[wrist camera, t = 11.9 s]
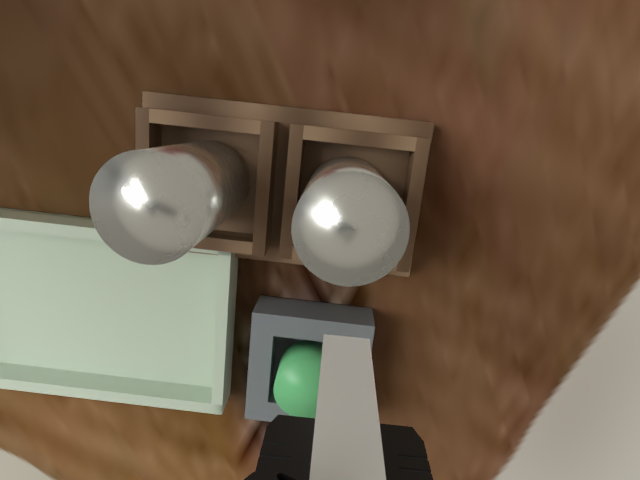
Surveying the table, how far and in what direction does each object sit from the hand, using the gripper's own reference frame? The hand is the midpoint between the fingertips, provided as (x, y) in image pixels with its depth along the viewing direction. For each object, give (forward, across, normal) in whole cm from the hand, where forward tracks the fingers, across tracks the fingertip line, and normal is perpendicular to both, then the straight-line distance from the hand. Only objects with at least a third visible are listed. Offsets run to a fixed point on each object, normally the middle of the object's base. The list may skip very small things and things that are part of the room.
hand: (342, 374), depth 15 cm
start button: (+15, -2, -8) cm, 17 cm away
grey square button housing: (+17, -2, -8) cm, 19 cm away
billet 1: (+15, -9, +4) cm, 18 cm away
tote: (+16, -18, -6) cm, 25 cm away
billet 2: (+15, 0, +4) cm, 16 cm away
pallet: (+17, -4, +4) cm, 17 cm away
